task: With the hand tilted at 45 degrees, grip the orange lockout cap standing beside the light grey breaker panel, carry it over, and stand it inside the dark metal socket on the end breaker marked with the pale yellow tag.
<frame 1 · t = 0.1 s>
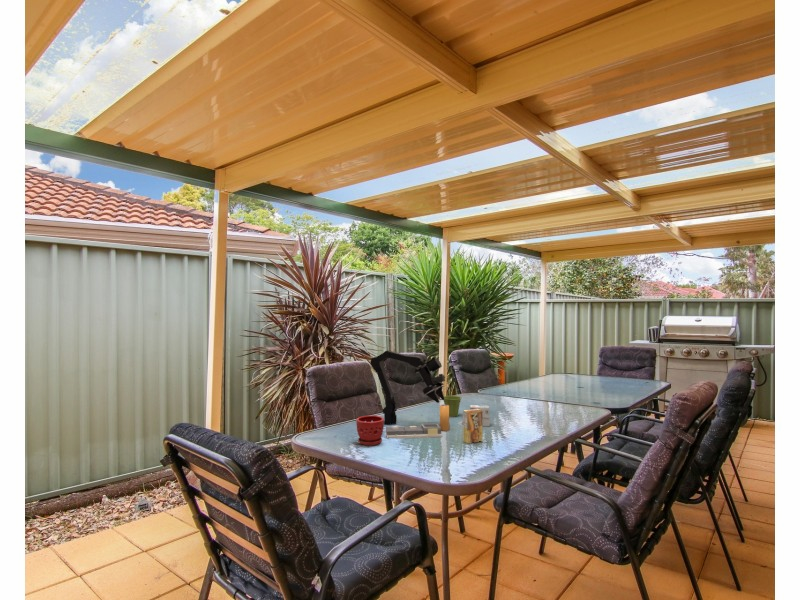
hand: (441, 401, 248), 15 cm above the table, tool tilted 35°, fingers open, 9 cm apart
candy box: (473, 442, 221), on the table
light bulb box: (479, 425, 255), on the table
plant pot 2: (370, 443, 218), on the table
breaker panel: (413, 434, 234), on the table
plant pot: (452, 416, 280), on the table
lockout cap: (444, 429, 244), on the table
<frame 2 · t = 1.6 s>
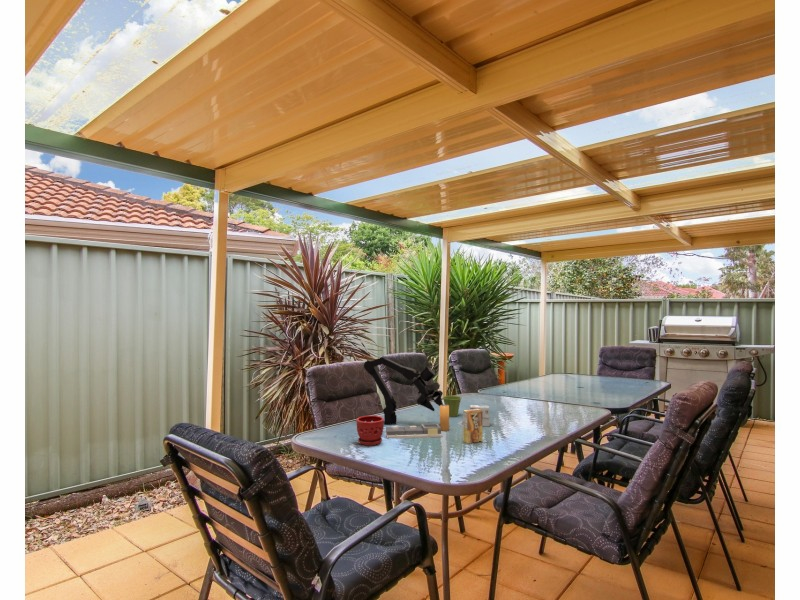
hand: (438, 409, 247), 10 cm above the table, tool tilted 45°, fingers open, 9 cm apart
nothing on the table moved.
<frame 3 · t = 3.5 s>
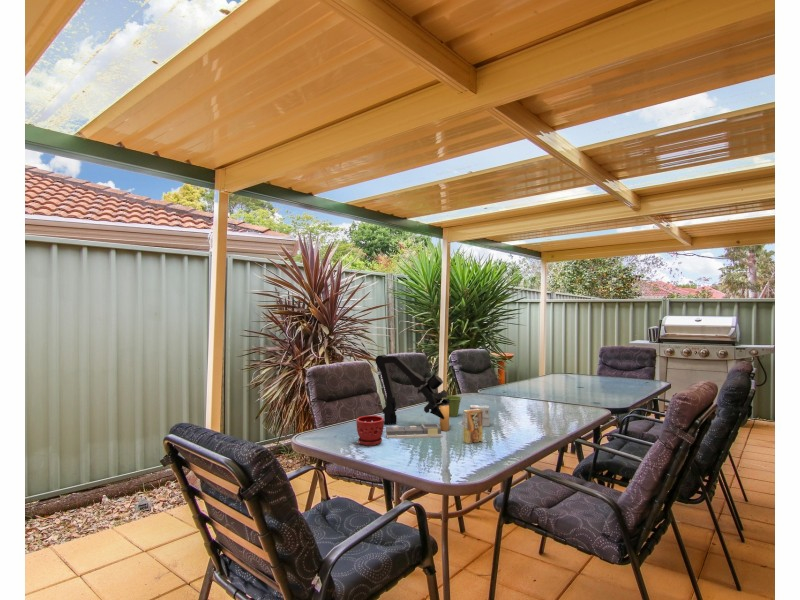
hand: (446, 417, 244), 7 cm above the table, tool tilted 45°, fingers closed on lockout cap, 5 cm apart
lockout cap: (444, 429, 244), on the table, touching gripper
everything else where it was.
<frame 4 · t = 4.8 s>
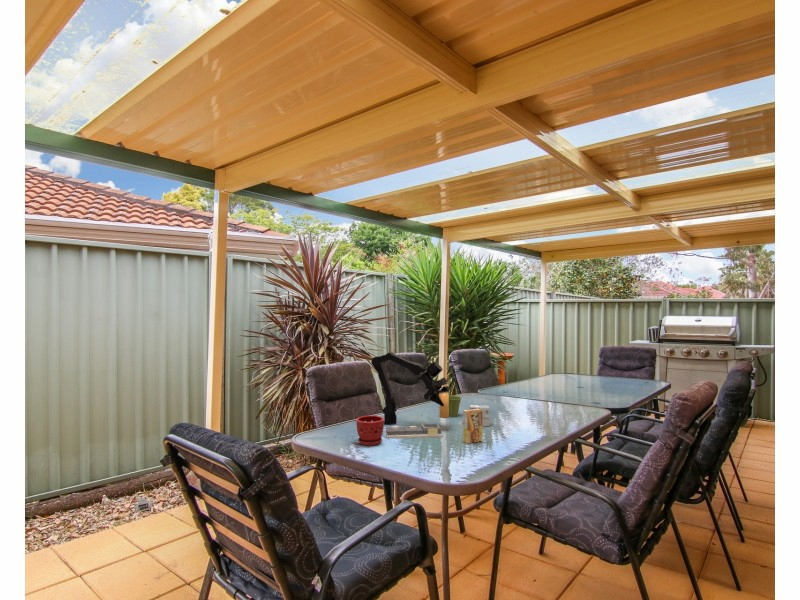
hand: (446, 405, 244), 13 cm above the table, tool tilted 45°, fingers closed on lockout cap, 5 cm apart
lockout cap: (444, 417, 244), point 7 cm above the table, touching gripper
everything else where it was.
when the fingers open (11 cm above the table, at t = 6.6 s): lockout cap drops 1 cm, resting on breaker panel.
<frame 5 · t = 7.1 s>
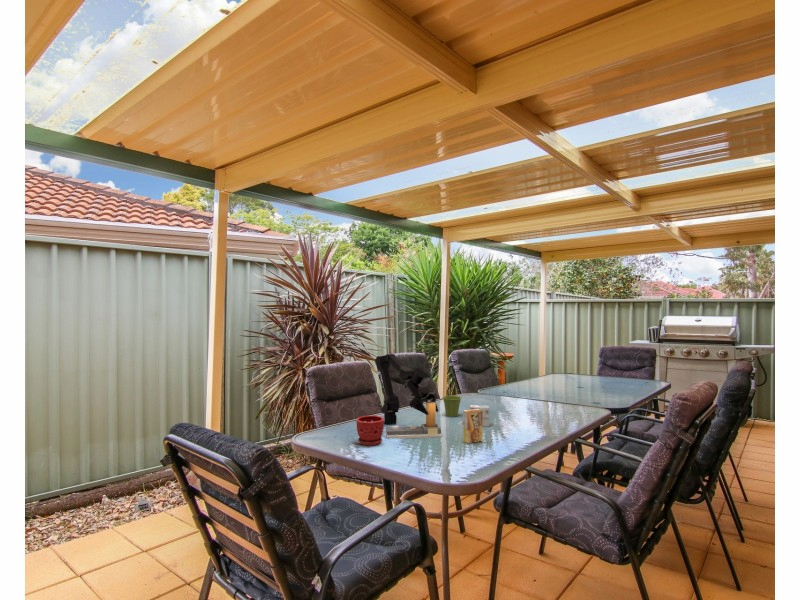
hand: (432, 412, 234), 11 cm above the table, tool tilted 45°, fingers open, 9 cm apart
lockout cap: (430, 428, 235), point 3 cm above the table, touching breaker panel
everything else where it was.
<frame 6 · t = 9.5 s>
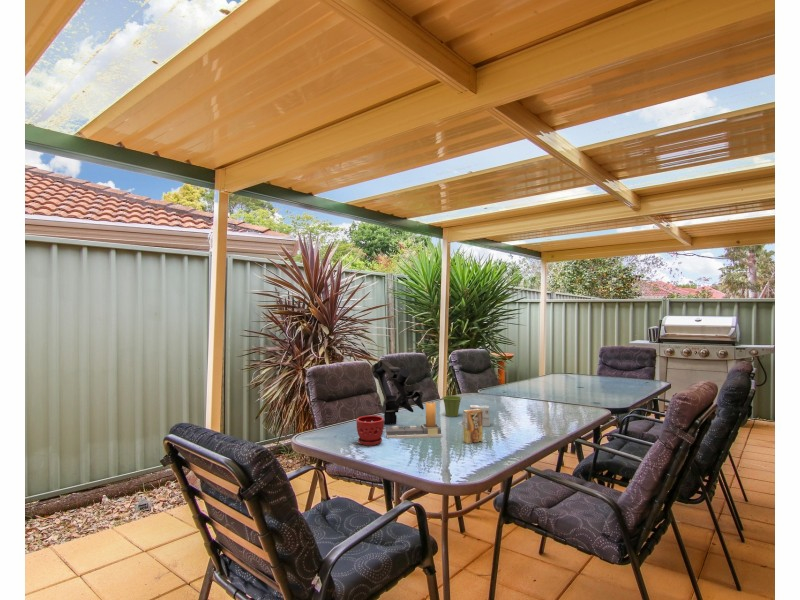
hand: (418, 410, 240), 11 cm above the table, tool tilted 45°, fingers open, 9 cm apart
nothing on the table moved.
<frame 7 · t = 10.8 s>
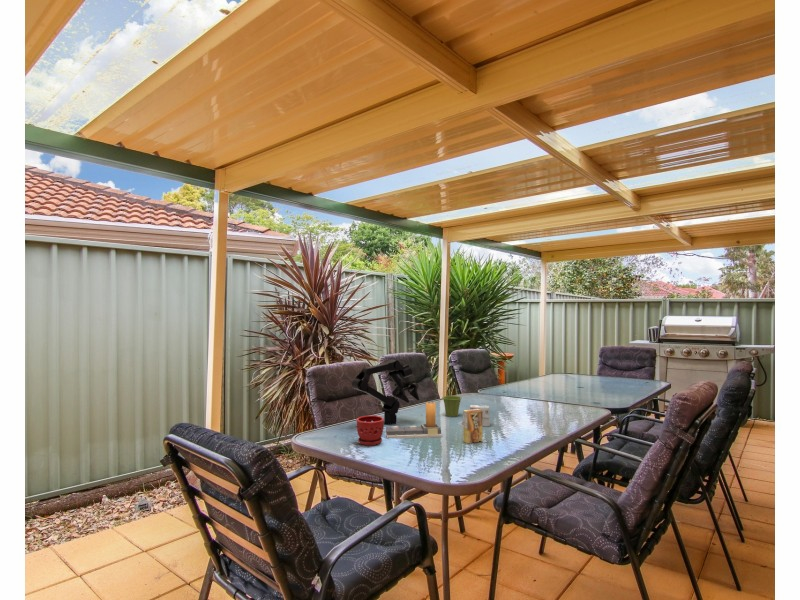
hand: (413, 401, 254), 14 cm above the table, tool tilted 45°, fingers open, 9 cm apart
nothing on the table moved.
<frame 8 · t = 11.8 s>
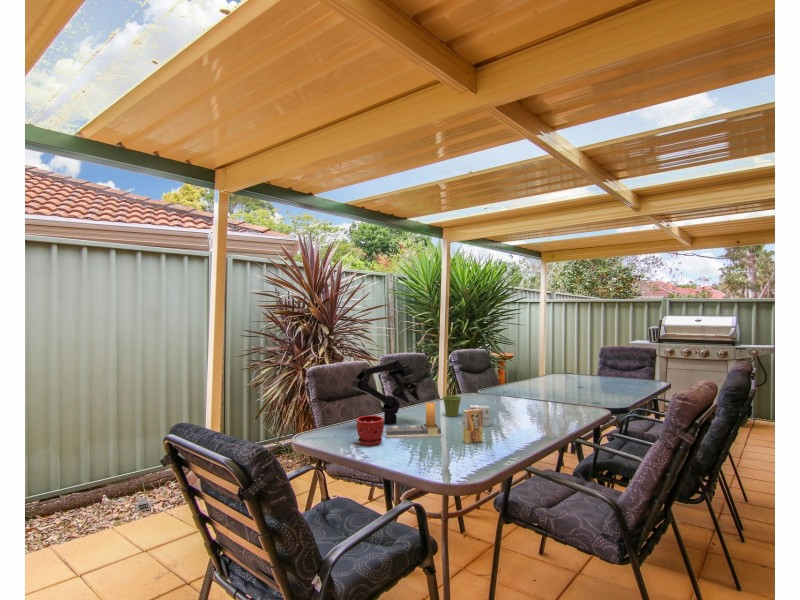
hand: (413, 401, 254), 14 cm above the table, tool tilted 45°, fingers open, 9 cm apart
nothing on the table moved.
at the end: lockout cap 0.1 cm from the target spot on the breaker panel, point 3.2 cm above the breaker panel's base; lockout cap tilted 1°; the gripper is holding nothing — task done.
